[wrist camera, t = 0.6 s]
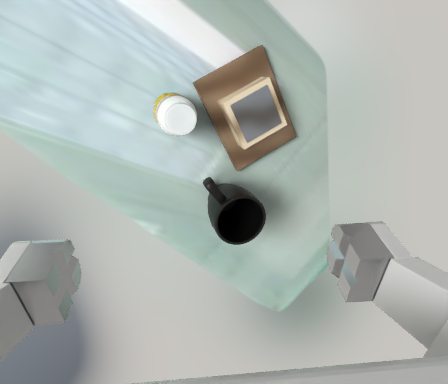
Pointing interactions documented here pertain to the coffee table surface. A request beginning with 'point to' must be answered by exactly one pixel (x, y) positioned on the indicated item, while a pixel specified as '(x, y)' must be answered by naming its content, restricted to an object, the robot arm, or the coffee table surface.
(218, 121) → the wooden stand
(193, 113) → the supplement bottle
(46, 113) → the coffee table surface
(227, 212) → the mug
